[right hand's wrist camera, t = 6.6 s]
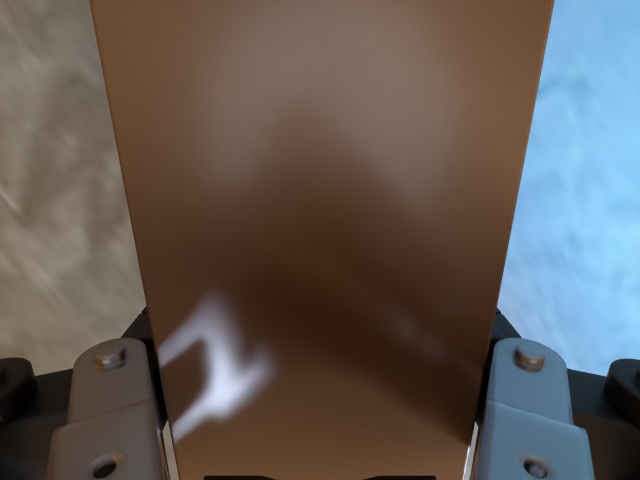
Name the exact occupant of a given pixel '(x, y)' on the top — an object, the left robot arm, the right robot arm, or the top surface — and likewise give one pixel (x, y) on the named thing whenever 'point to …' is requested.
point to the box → (321, 219)
